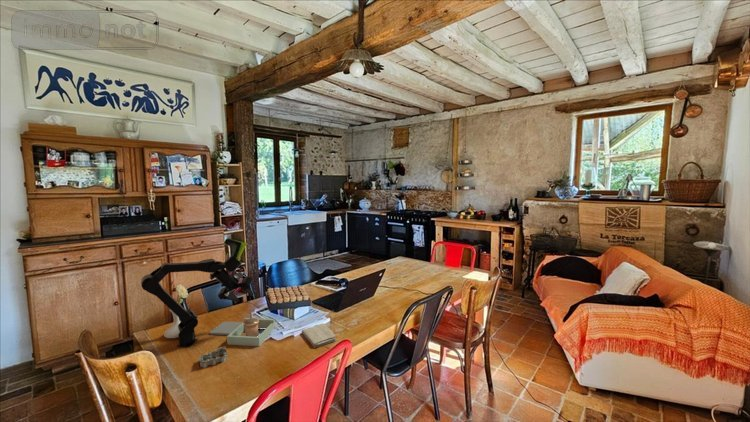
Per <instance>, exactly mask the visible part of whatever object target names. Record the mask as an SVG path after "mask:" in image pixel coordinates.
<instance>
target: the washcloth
mask: <svg viewBox="0 0 750 422" xmlns="http://www.w3.org/2000/svg"><path fill="white" fill-rule="evenodd" d="M301 333H302V335H303V336H304V338H305V339H306V340H307V341H308V342H309V343H310V344H311V345H312V347H313V348H314V349H316V348H318V347H319V348H320V347H323V346H327V345H329V344H332V343H334V342H335V343H336V341H337V339H336V334H334V332H333V330H332V329H330V328H329V327H328V326H327V325H326V324H325V323H319V324H317V325H315V326H312V327H311V326H310V327H307V328H305V329H304V328H303V329H302V330H301Z"/></svg>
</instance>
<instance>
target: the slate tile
mask: <svg viewBox="0 0 750 422" xmlns="http://www.w3.org/2000/svg"><path fill="white" fill-rule="evenodd" d="M243 322H244V321H242V322H240V321H222V322H221V323H220V324H219V325H217V326H216V327H214V328H213V329H212V330H211V331H209V335H211V336H212V335H214V336H215V335H216V336H228V335H229V334H230V333H232V332H233V331H234V330H235V329H236V328H237V327H239V326H240V325H241V324H242V323H243Z"/></svg>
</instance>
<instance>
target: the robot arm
mask: <svg viewBox="0 0 750 422" xmlns="http://www.w3.org/2000/svg"><path fill="white" fill-rule="evenodd" d="M241 265H242V262H240V260H239V259H237V258H236V257H235V256H234V255H232V254H231V255H230V256H229V257H228V258H227V259H226V260H225V261H220V260H219V261H217V260H216V259H214V258H208V259H202V260H200V261H193V262H192V261H189V262H164V263H162V264H161V265H160V266H159V267H157V268H156V269H154V270H153V271H152V272H150V273H149V274H146V275H144V276H143V277H142V278H141V279H140V284H141V285H140V286H141V288H142V289H143V290H144V291H146V292H147V293H149V294H151V295H152V296H154V297H155V296H156V298H158V299H159V300H160V302H162V303H163V305H165V306H167V308H169V309H171V310H172V311H173V312H174V313H175V314H176V315H177V316H178V317H179V321H180V322H181V323H180V324H179V325H178V329H179V334H178V335H179V337H178V344H176V347H183V348H189V347H191V346H192V345H193V344H195V343H196V342H197V341H199V339H198V338H196V334H195V333H196V332H195V328H196V327H198V323H199V320H198V315H197V313H196V312H194V311H193V310H192V308H191V307H189V308H188V309H186V308H185V307H183V305H181V303H179V302H177V299H175V298H174V297H173V295H171V294H170V293H169V292H167V290H165V289H164V288H163V286H162V284H161V283H160V282H161V281H162V280H163V279H164V278H165V277H166V276H167V275H168V274H169V273H181V272H183V273H184V272H185V273H187V272H203V273H209V279H210V280H211V281H214V279H216V280H217V281H218V282H219V283H220V284H221V285H220V287H222V288H221V289H220V291H219V293H218V294H217V297H218V299H219V300H228V301H231V302H232V301H234V302H235V303H236V302H237V303H239V302H240V299H239V298H238V297H237V296H236V295H235V294H234V293H233V291H235V290H237V289H239V288H241V290H242V291H244V293H247V294H248V295H250V296H254V292H253V290H252V287H251V283H252V282H253V278H252V277H251V276H250V275H249V276H248V275H247V276H246V277H244V276H243V274H242V272H241V271H239V272H238V271H237V272H236V273H235V274H232V273H234V272H235V271H236V270H238V268H240V266H241ZM230 273H231V274H230ZM243 277H244V278H243ZM240 281H241V282H240Z"/></svg>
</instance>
